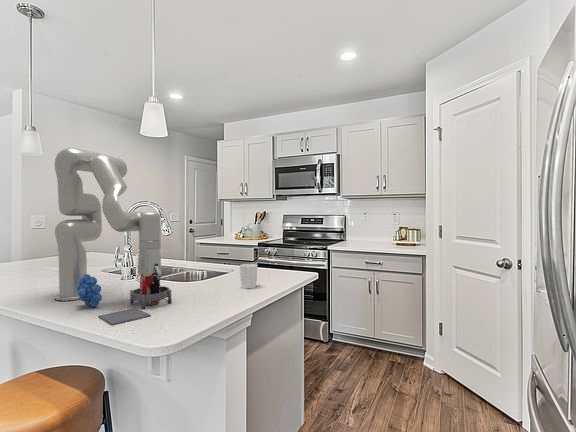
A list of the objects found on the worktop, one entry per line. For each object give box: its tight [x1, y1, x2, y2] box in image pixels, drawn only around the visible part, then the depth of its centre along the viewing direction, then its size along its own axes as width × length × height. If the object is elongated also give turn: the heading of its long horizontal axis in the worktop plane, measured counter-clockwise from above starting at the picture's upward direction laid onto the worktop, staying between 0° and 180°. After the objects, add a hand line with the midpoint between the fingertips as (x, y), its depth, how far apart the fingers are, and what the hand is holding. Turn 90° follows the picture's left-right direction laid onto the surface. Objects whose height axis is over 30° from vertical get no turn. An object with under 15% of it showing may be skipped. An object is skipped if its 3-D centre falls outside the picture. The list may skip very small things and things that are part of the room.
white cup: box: [239, 263, 258, 289], centre depth 151 cm, size 8×8×10 cm
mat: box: [98, 307, 152, 326], centre depth 110 cm, size 12×12×1 cm
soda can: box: [139, 274, 161, 306], centre depth 125 cm, size 7×7×12 cm
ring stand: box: [129, 285, 173, 310], centre depth 125 cm, size 13×13×5 cm
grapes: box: [77, 273, 103, 308], centre depth 120 cm, size 12×7×12 cm, turn 67°
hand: (150, 291), depth 125 cm, fingers closed on soda can, 7 cm apart
